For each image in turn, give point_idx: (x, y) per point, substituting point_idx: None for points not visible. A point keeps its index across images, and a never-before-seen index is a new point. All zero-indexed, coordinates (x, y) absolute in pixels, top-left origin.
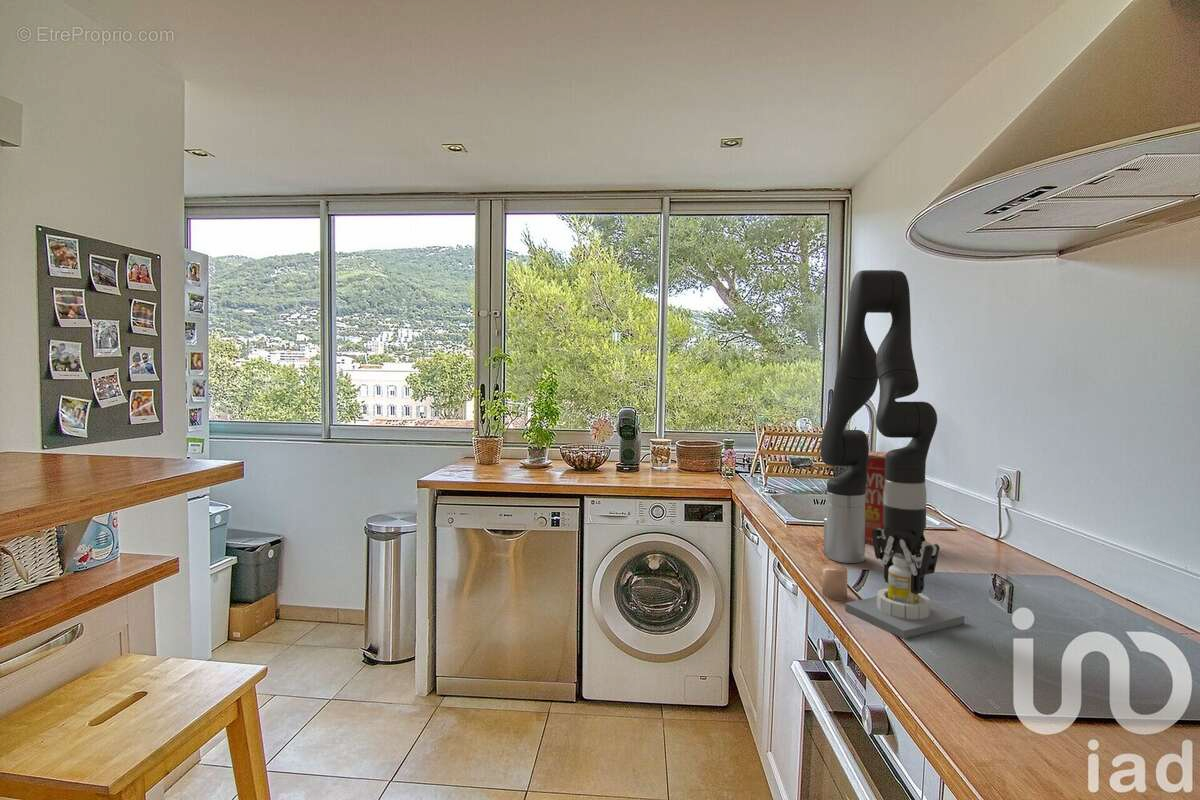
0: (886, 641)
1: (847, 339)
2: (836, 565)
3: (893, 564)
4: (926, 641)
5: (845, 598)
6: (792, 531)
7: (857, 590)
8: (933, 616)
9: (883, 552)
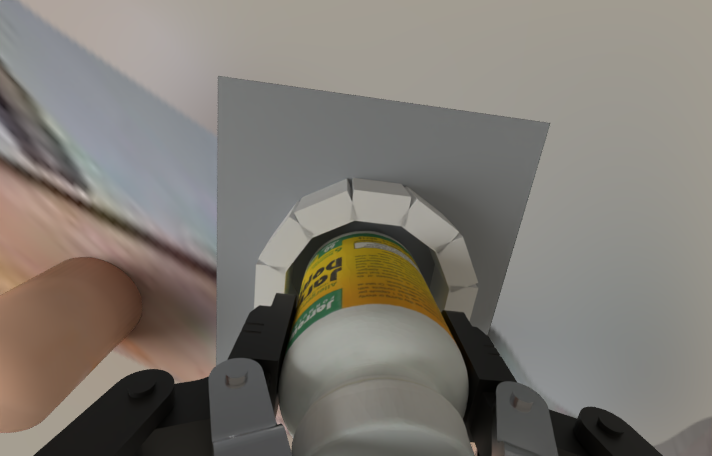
0: None
1: None
2: None
3: (268, 380)
4: (505, 355)
5: (138, 293)
6: None
7: (78, 178)
8: (470, 239)
9: (140, 450)
